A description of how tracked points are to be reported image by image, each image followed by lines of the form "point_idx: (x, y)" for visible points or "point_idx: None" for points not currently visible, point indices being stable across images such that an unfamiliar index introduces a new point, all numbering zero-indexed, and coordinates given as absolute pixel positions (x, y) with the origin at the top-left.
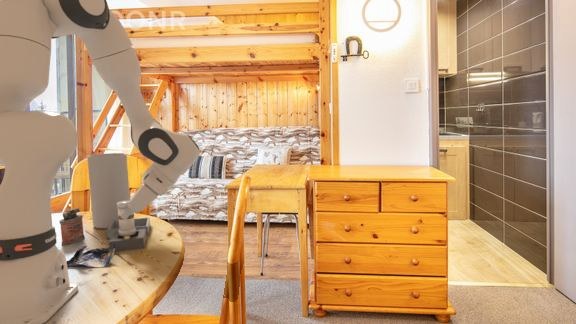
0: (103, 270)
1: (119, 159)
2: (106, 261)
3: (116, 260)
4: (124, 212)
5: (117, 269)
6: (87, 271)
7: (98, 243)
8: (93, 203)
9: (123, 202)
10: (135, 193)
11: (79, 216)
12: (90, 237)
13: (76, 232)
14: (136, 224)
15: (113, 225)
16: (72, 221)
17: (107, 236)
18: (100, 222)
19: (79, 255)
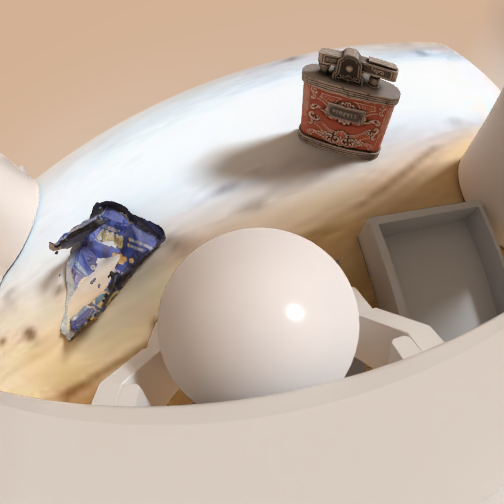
0: (47, 324)
1: None
2: (74, 321)
3: (101, 346)
4: (148, 348)
5: (44, 360)
6: (54, 284)
7: (311, 220)
8: (493, 108)
9: (232, 305)
10: (501, 360)
11: (375, 93)
12: (380, 173)
13: (340, 129)
14: (494, 290)
15: (459, 215)
16: (331, 91)
17: (360, 231)
18: (465, 166)
19: (86, 234)
